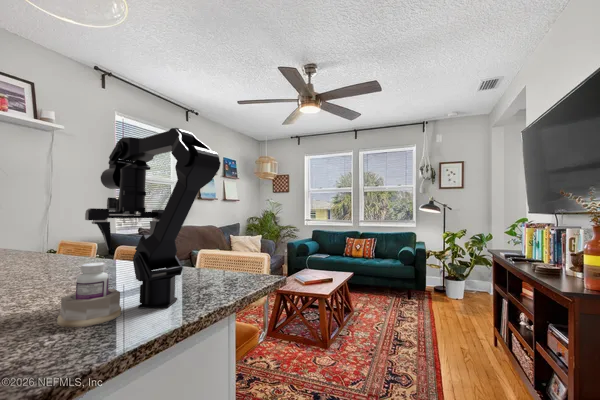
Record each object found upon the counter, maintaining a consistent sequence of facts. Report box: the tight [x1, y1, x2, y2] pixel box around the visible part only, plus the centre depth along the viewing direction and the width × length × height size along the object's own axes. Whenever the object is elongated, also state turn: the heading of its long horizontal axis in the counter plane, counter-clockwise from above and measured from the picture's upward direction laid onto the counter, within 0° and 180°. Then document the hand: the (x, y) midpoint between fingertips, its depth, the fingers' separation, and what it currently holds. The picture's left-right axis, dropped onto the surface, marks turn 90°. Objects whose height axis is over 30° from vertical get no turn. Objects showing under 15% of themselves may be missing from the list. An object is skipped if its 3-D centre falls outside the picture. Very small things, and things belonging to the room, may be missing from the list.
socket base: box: [56, 288, 122, 328], centre depth 58 cm, size 10×10×4 cm
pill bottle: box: [75, 262, 110, 300], centre depth 58 cm, size 5×5×10 cm
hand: (130, 248), depth 74 cm, fingers open, 9 cm apart
